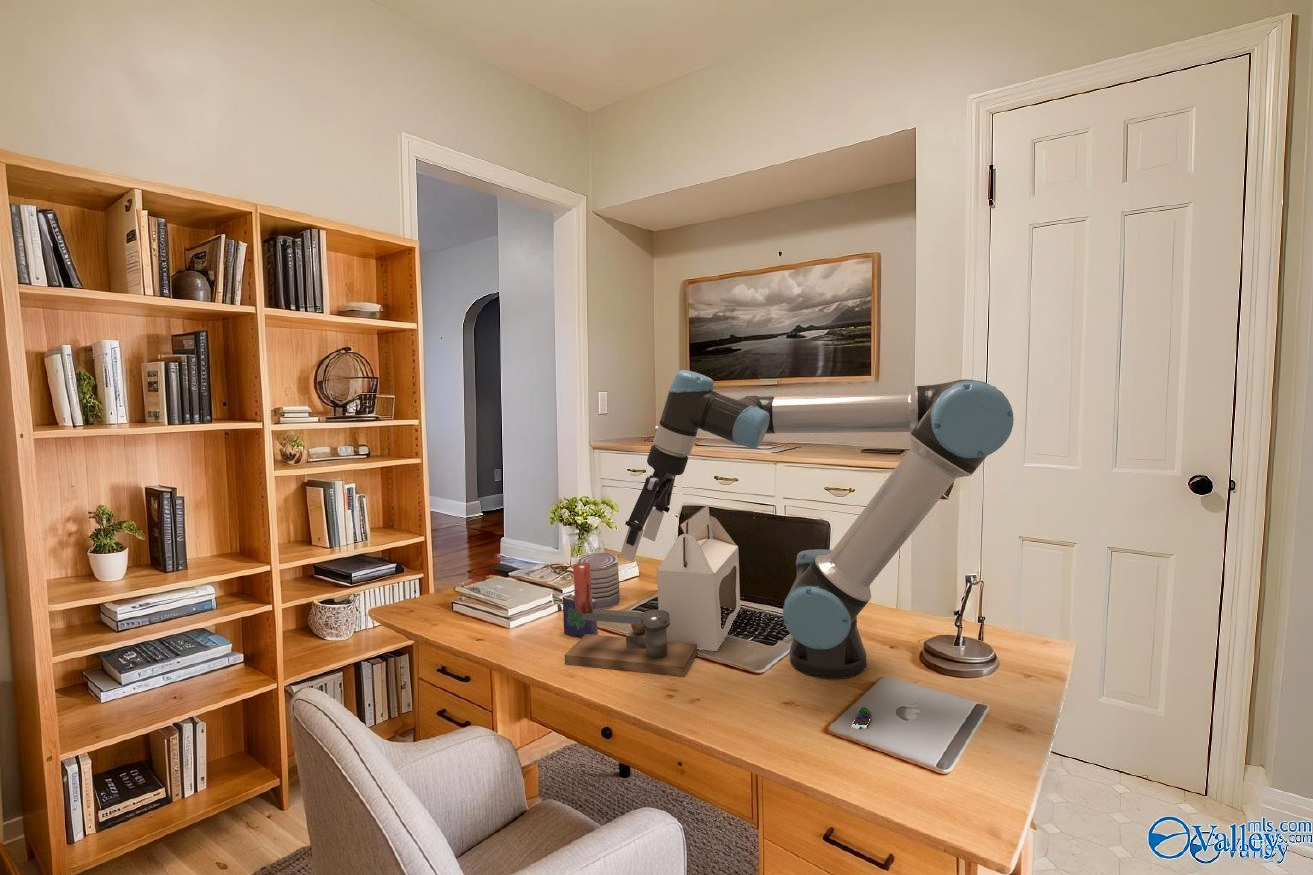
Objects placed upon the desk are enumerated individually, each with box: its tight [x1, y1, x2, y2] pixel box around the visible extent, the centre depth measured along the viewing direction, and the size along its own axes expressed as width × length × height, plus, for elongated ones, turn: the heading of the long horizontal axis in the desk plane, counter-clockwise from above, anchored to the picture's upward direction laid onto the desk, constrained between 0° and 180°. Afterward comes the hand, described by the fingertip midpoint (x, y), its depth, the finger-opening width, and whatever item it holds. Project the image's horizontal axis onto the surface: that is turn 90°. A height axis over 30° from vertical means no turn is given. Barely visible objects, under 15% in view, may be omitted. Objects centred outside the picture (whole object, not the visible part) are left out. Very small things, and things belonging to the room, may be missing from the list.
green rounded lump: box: [853, 706, 872, 725], centre depth 111 cm, size 4×3×2 cm, turn 150°
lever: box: [572, 562, 670, 630], centre depth 137 cm, size 21×6×12 cm, turn 72°
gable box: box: [656, 505, 741, 651], centre depth 151 cm, size 22×13×28 cm, turn 160°
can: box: [575, 551, 621, 610], centre depth 173 cm, size 11×11×12 cm
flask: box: [561, 591, 599, 639], centre depth 152 cm, size 9×3×11 cm, turn 61°
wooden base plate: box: [564, 624, 698, 677], centre depth 139 cm, size 26×11×8 cm, turn 72°
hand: (638, 548), depth 131 cm, fingers open, 13 cm apart
